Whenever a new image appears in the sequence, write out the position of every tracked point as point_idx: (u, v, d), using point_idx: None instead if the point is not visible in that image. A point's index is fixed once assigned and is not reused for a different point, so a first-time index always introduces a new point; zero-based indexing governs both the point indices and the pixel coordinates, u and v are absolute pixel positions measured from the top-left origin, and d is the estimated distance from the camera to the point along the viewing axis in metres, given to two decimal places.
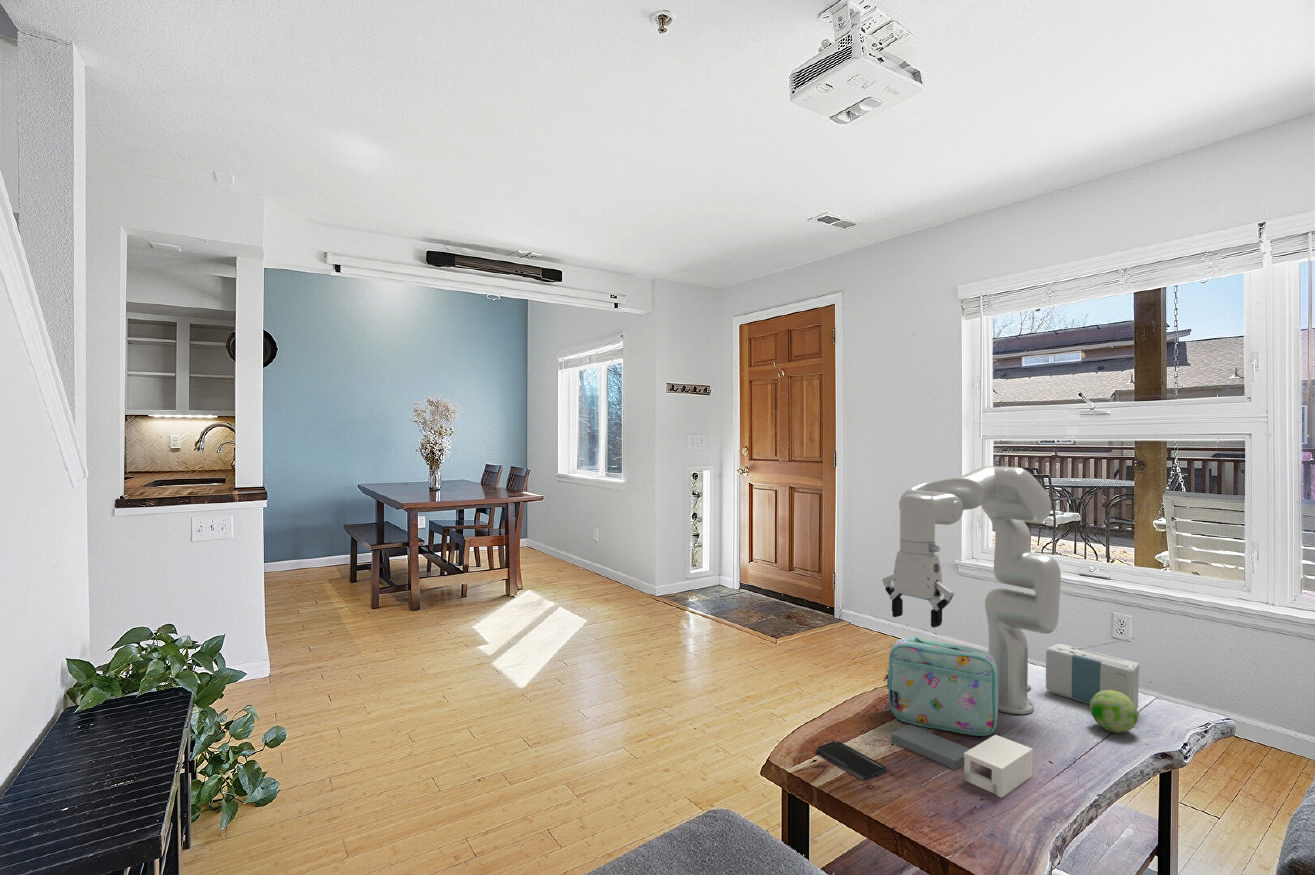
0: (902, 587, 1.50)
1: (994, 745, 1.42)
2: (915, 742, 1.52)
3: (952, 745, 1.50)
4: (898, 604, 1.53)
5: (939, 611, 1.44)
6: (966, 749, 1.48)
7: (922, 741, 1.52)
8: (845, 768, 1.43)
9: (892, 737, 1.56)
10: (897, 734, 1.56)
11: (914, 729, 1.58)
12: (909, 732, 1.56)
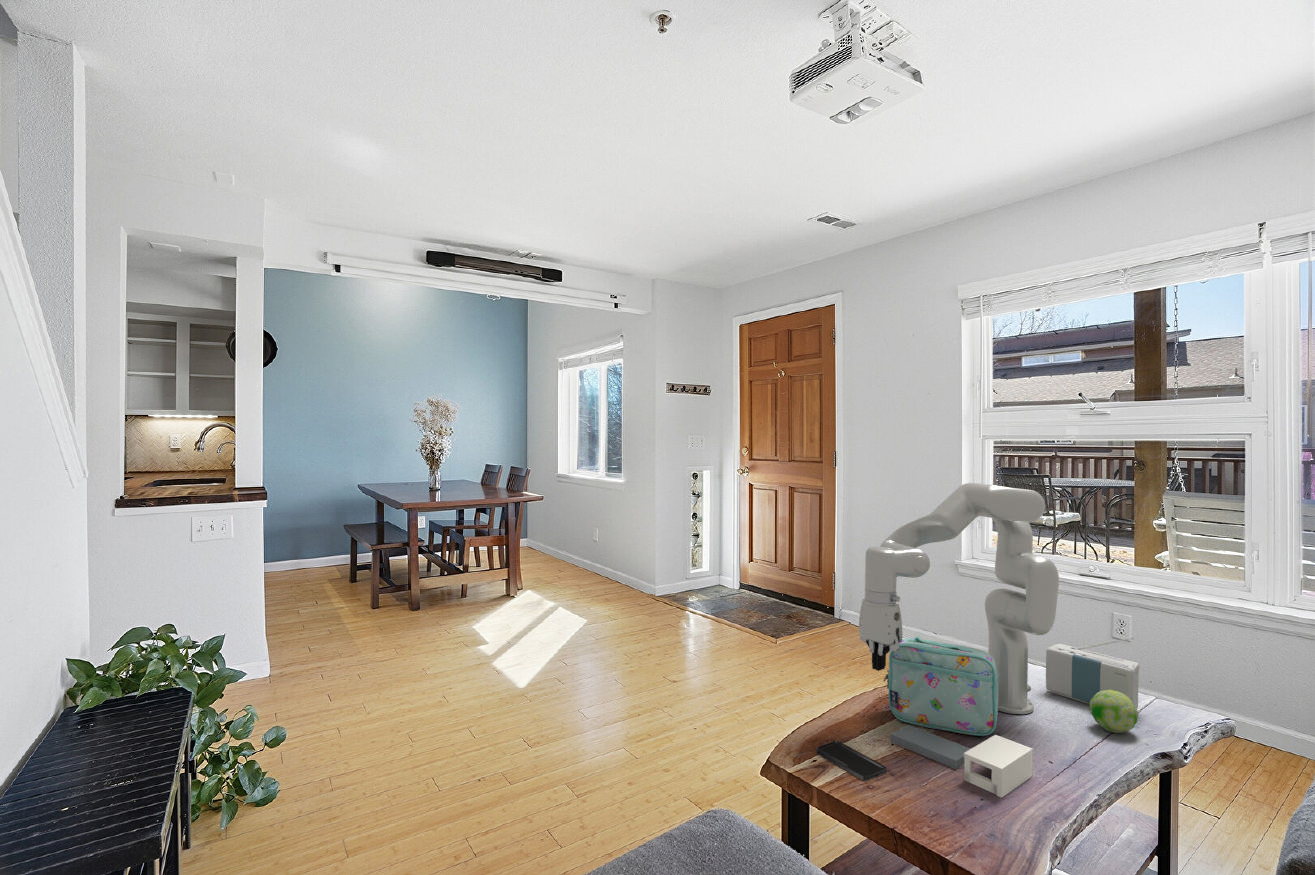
0: (866, 632, 1.63)
1: (994, 745, 1.42)
2: (915, 742, 1.51)
3: (952, 744, 1.51)
4: None
5: (883, 656, 1.61)
6: (966, 748, 1.49)
7: (922, 741, 1.52)
8: (845, 768, 1.43)
9: (892, 738, 1.55)
10: (897, 734, 1.55)
11: (913, 729, 1.58)
12: (909, 733, 1.56)
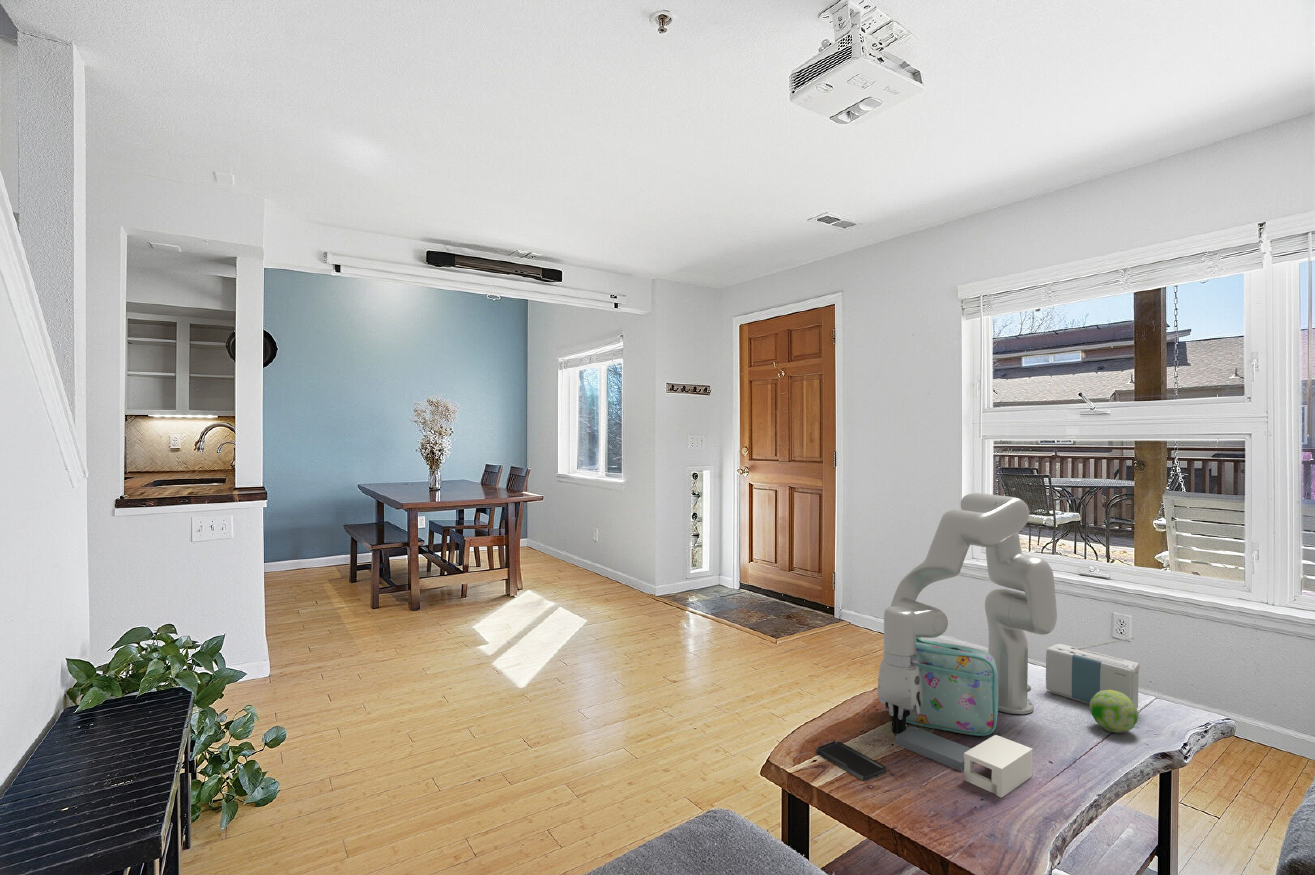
0: (885, 695, 1.59)
1: (994, 745, 1.42)
2: (920, 744, 1.50)
3: (956, 746, 1.50)
4: None
5: (903, 720, 1.57)
6: None
7: (927, 743, 1.51)
8: (845, 768, 1.43)
9: (896, 740, 1.54)
10: (901, 736, 1.54)
11: (917, 730, 1.57)
12: (913, 734, 1.55)
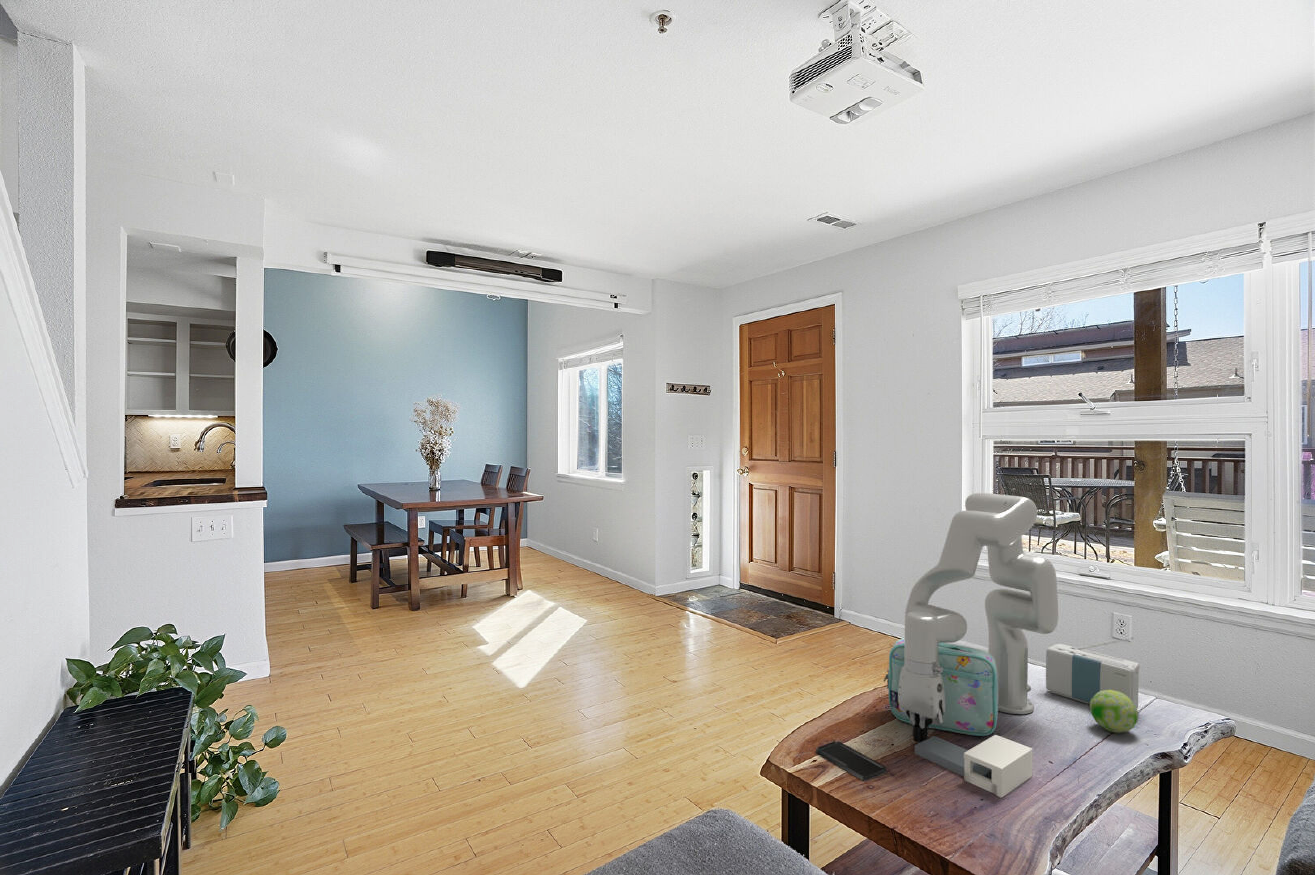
0: (906, 703, 1.54)
1: (994, 745, 1.42)
2: (940, 755, 1.46)
3: None
4: None
5: (925, 729, 1.53)
6: None
7: (948, 754, 1.46)
8: (845, 768, 1.43)
9: (916, 749, 1.50)
10: (921, 746, 1.50)
11: (939, 740, 1.52)
12: (934, 744, 1.50)
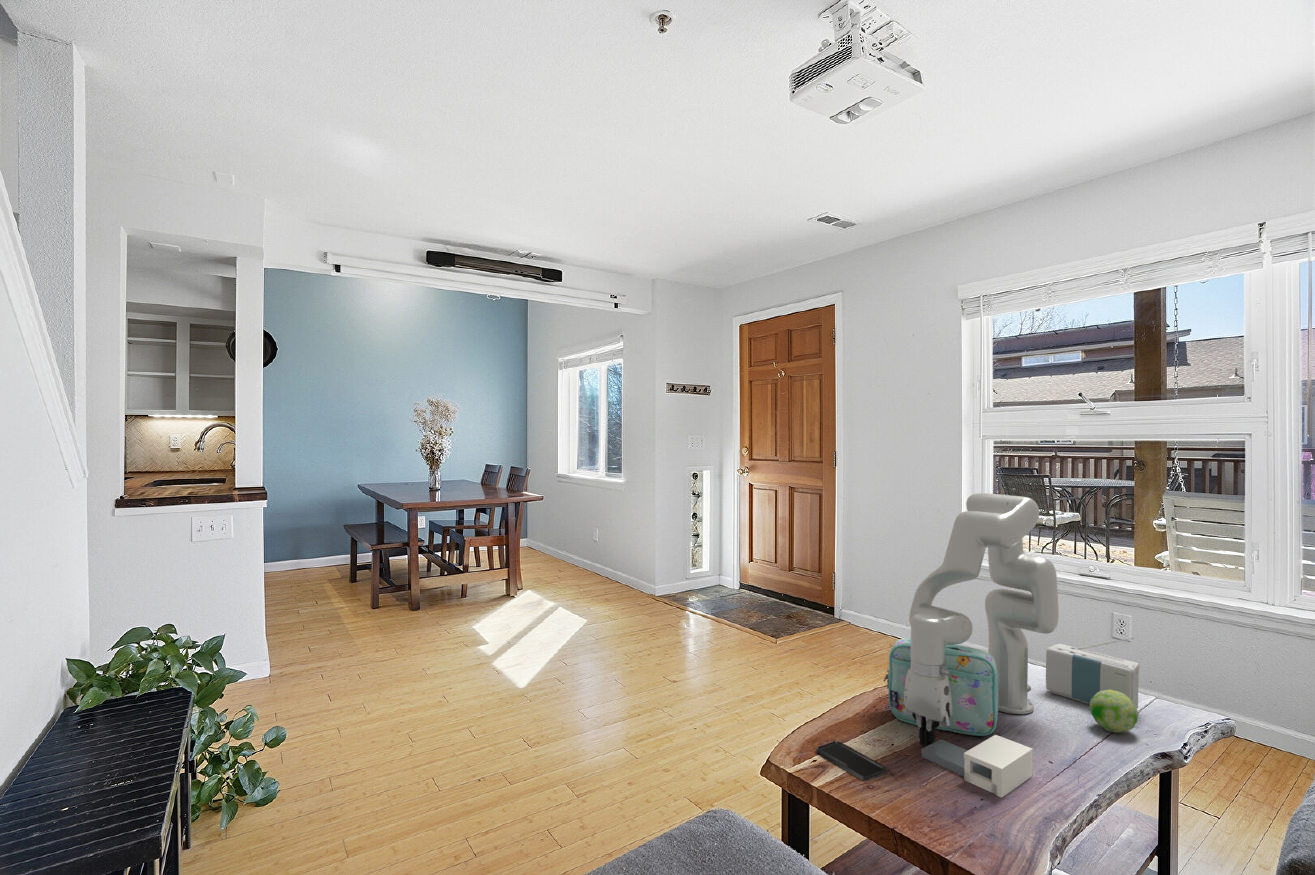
0: (913, 706, 1.53)
1: (994, 745, 1.42)
2: (947, 758, 1.44)
3: None
4: None
5: (931, 731, 1.51)
6: None
7: (955, 757, 1.45)
8: (845, 768, 1.43)
9: (922, 752, 1.49)
10: (928, 749, 1.48)
11: (946, 744, 1.51)
12: (941, 748, 1.49)
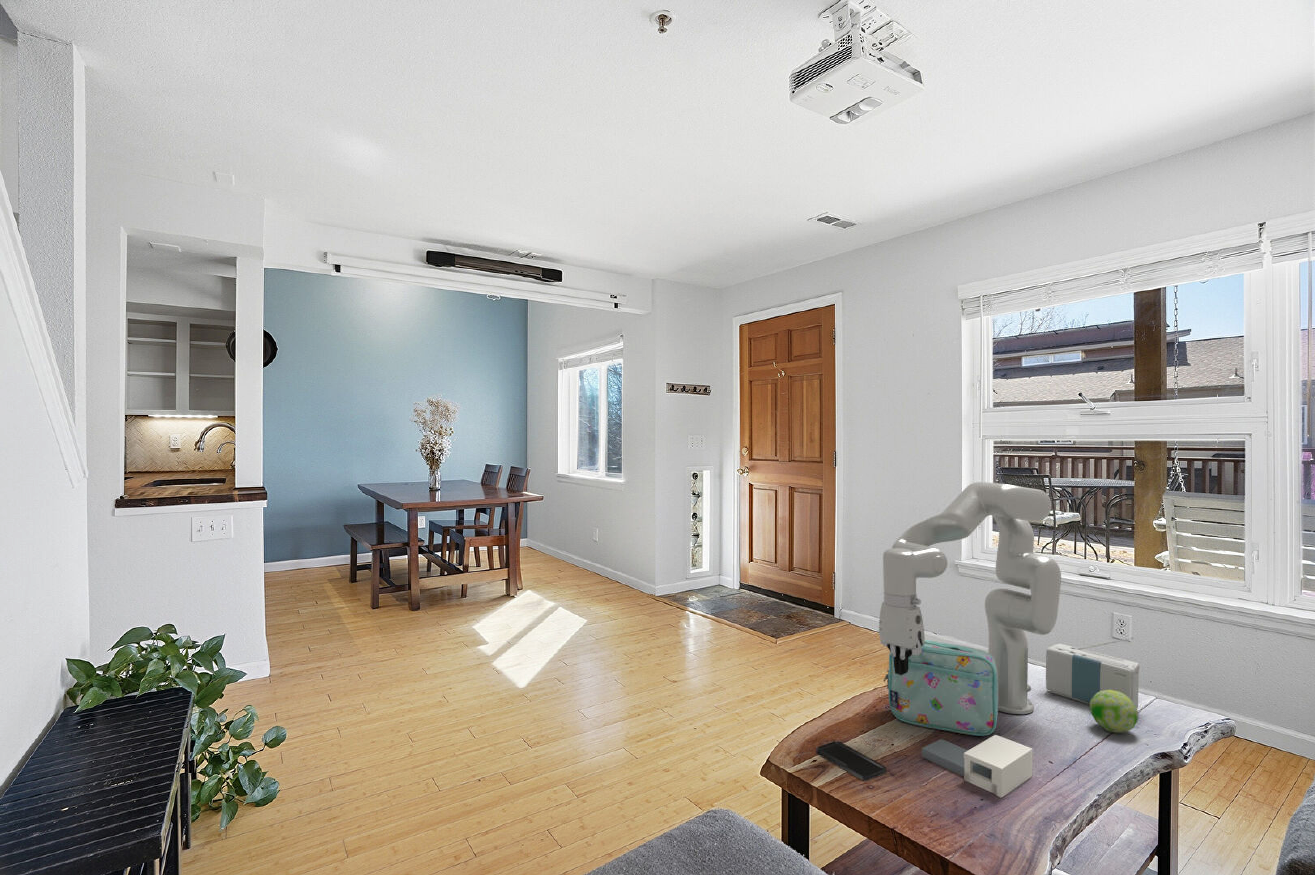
0: (887, 637, 1.59)
1: (994, 745, 1.42)
2: (947, 758, 1.44)
3: None
4: None
5: (905, 660, 1.57)
6: None
7: (955, 757, 1.45)
8: (845, 768, 1.43)
9: (923, 752, 1.49)
10: (928, 749, 1.48)
11: (946, 744, 1.51)
12: (941, 747, 1.49)
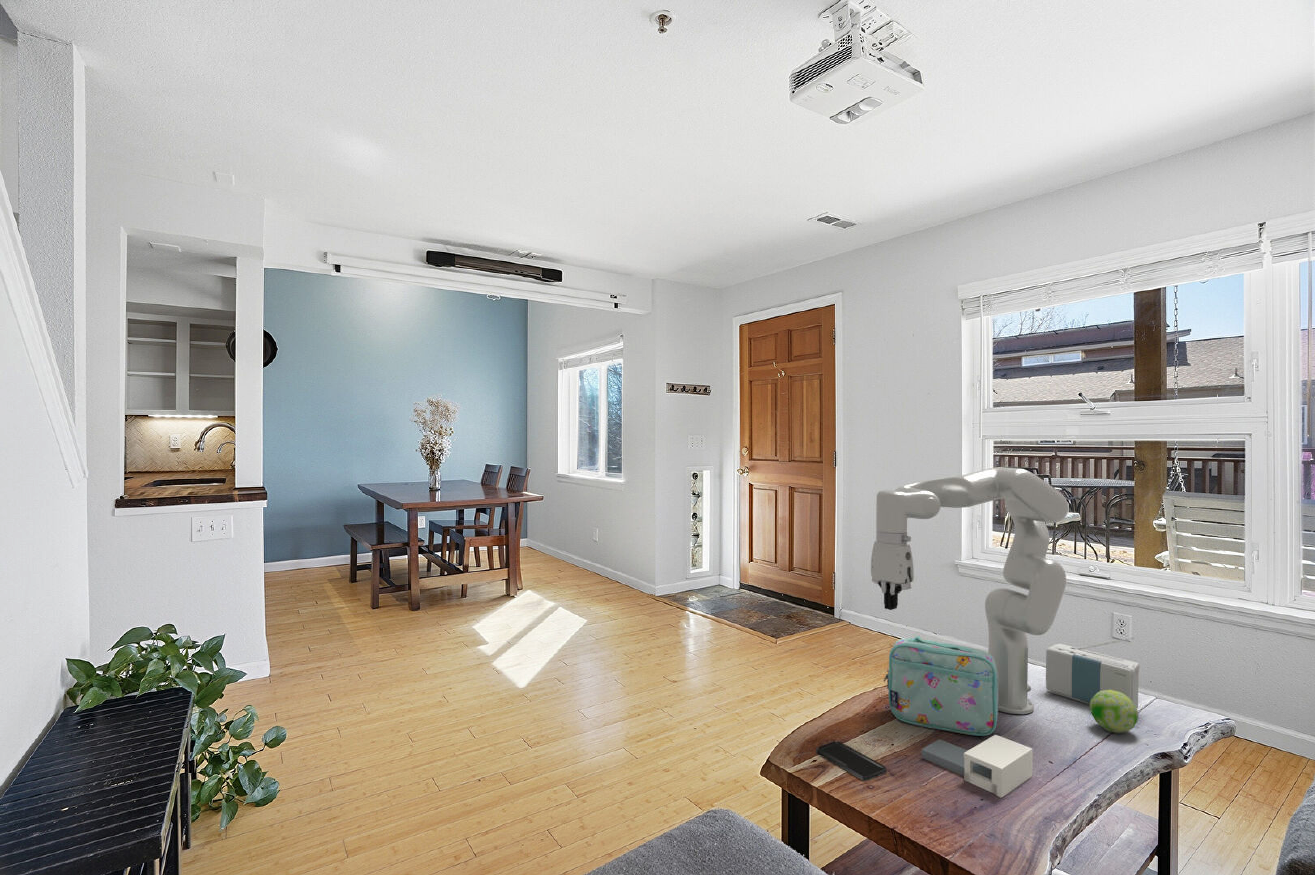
0: (878, 573, 1.67)
1: (994, 745, 1.42)
2: (948, 759, 1.44)
3: None
4: None
5: (895, 595, 1.66)
6: None
7: (955, 757, 1.45)
8: (845, 768, 1.43)
9: (922, 753, 1.48)
10: (928, 750, 1.48)
11: (945, 744, 1.51)
12: (940, 748, 1.49)
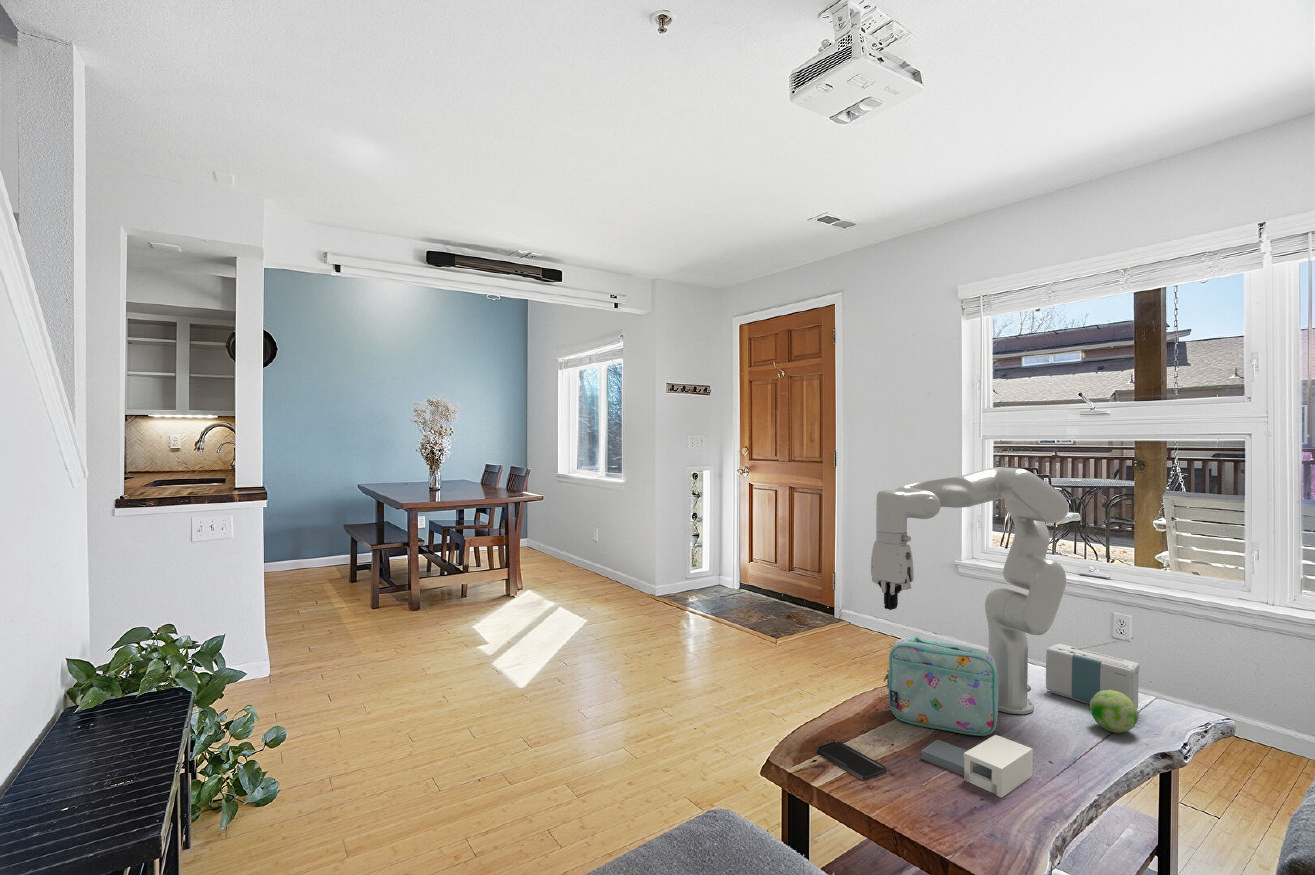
0: (878, 573, 1.67)
1: (994, 745, 1.42)
2: (948, 759, 1.44)
3: None
4: None
5: (895, 595, 1.66)
6: None
7: (955, 758, 1.45)
8: (845, 768, 1.43)
9: (922, 754, 1.48)
10: (928, 751, 1.48)
11: (943, 744, 1.51)
12: (939, 748, 1.49)
